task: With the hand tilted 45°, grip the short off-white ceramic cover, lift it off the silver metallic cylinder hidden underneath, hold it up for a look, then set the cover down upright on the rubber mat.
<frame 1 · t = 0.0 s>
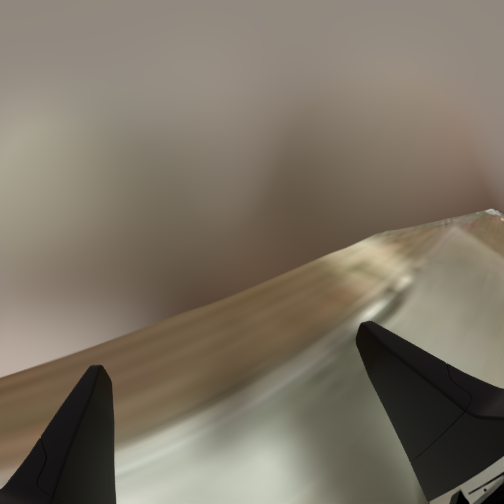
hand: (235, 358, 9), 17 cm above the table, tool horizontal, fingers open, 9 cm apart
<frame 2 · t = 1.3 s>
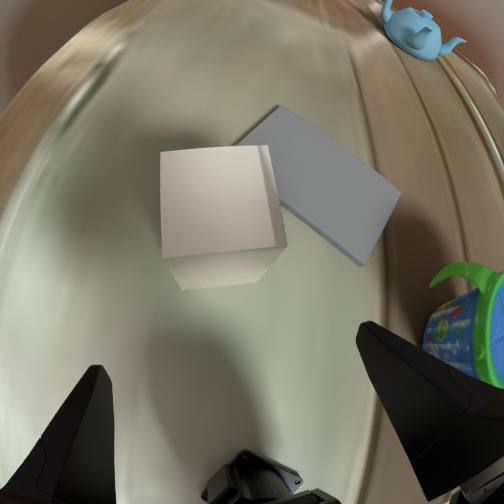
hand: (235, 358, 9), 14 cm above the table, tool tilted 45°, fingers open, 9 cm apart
mat: (318, 178, 27), on the table
snack cup: (442, 339, 25), on the table
cover: (215, 250, 24), on the table
teapot: (407, 47, 42), on the table
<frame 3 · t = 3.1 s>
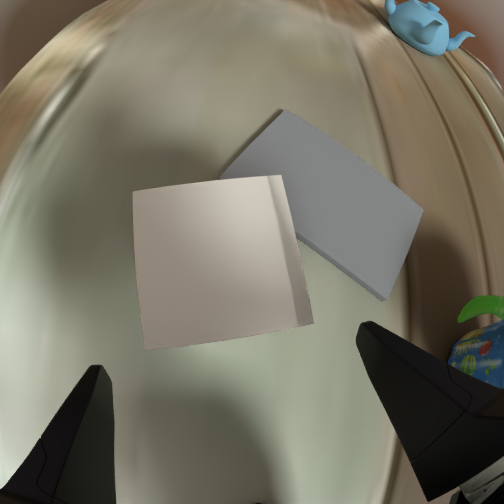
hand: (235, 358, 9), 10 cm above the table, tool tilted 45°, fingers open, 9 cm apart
mat: (332, 197, 23), on the table
snack cup: (463, 369, 21), on the table
cover: (214, 294, 20), on the table
teapot: (412, 41, 38), on the table
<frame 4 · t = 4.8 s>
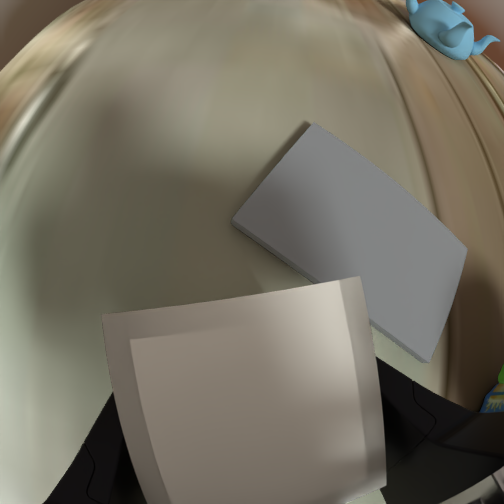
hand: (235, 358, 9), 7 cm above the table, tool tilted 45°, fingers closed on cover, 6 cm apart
mat: (372, 239, 18), on the table
snack cup: (491, 416, 16), on the table
cover: (230, 372, 15), on the table, touching gripper
teapot: (435, 43, 33), on the table
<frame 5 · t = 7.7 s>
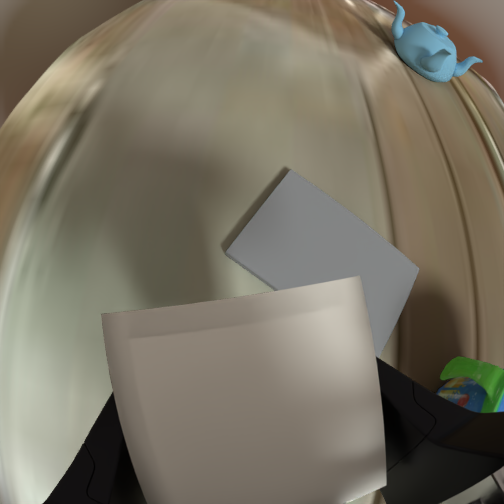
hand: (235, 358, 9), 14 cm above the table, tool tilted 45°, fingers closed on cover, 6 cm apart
mat: (333, 263, 25), on the table
snack cup: (446, 408, 23), on the table
cover: (230, 372, 15), point 7 cm above the table, touching gripper
teapot: (418, 66, 39), on the table
when the fingers open (9 cm above the table, at t = 10.9 s): cover drops 1 cm, resting on mat.
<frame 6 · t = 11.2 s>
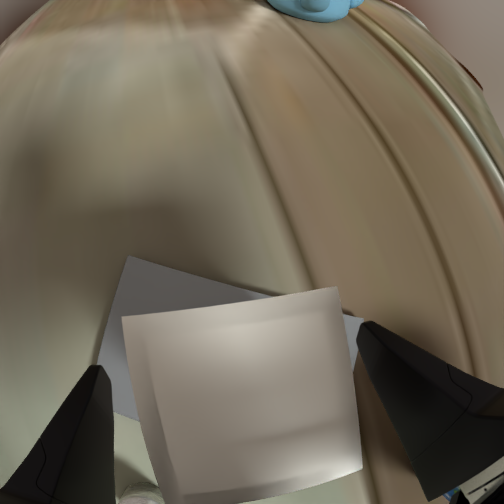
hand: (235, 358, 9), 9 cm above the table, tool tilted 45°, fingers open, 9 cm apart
silver metallic cylinder: (148, 501, 13), on the table
mat: (228, 367, 17), on the table
cover: (229, 369, 16), point 1 cm above the table, touching mat
teapot: (303, 11, 31), on the table
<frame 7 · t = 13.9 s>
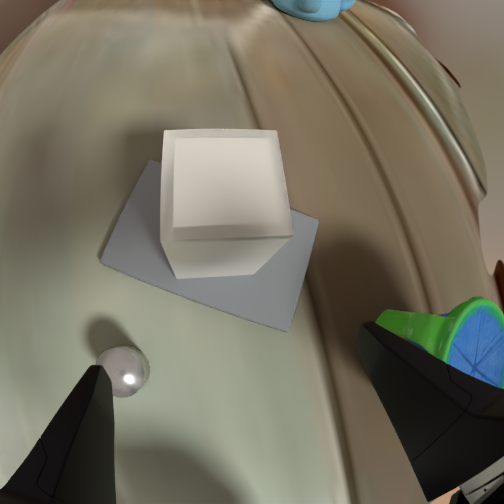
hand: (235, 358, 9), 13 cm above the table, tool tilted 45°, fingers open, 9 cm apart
silver metallic cylinder: (128, 367, 20), on the table
mat: (212, 242, 24), on the table
snack cup: (402, 363, 24), on the table
cover: (212, 239, 23), point 1 cm above the table, touching mat
teapot: (301, 11, 38), on the table
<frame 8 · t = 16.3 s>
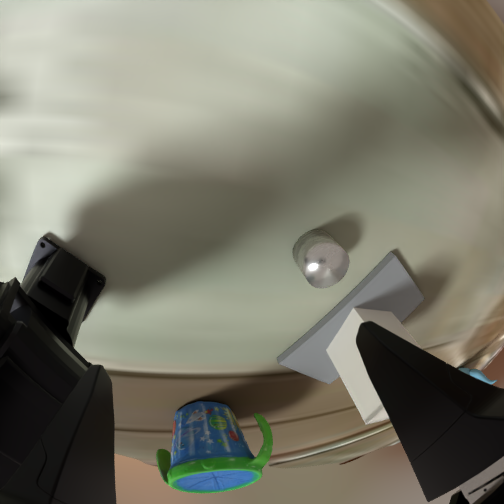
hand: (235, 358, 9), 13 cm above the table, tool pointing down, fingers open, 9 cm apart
silver metallic cylinder: (313, 249, 24), on the table
mat: (356, 326, 30), on the table
snack cup: (203, 411, 33), on the table
cover: (359, 331, 29), point 1 cm above the table, touching mat
teapot: (444, 382, 52), on the table
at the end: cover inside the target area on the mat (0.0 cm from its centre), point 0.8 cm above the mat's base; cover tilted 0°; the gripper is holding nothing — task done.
